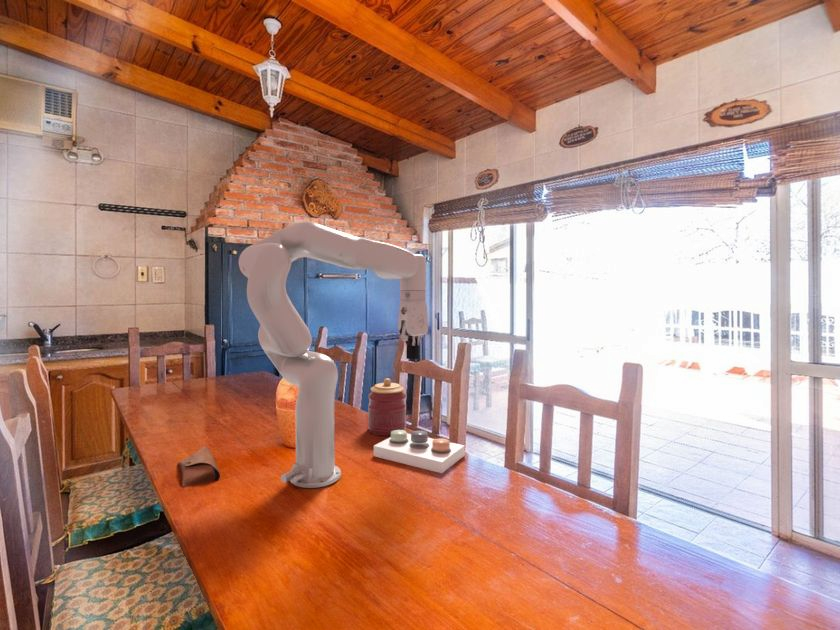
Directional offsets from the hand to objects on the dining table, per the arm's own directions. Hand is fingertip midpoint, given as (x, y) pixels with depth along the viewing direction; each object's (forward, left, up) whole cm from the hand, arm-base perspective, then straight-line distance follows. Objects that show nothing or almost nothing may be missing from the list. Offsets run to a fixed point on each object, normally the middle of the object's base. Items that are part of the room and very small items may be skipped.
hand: (412, 358), depth 128 cm
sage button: (-4, +2, -24) cm, 24 cm away
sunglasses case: (-43, +39, -28) cm, 64 cm away
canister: (+10, +16, -27) cm, 33 cm away
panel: (-4, -5, -27) cm, 28 cm away
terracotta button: (-4, -12, -24) cm, 27 cm away
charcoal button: (-4, -5, -22) cm, 23 cm away
